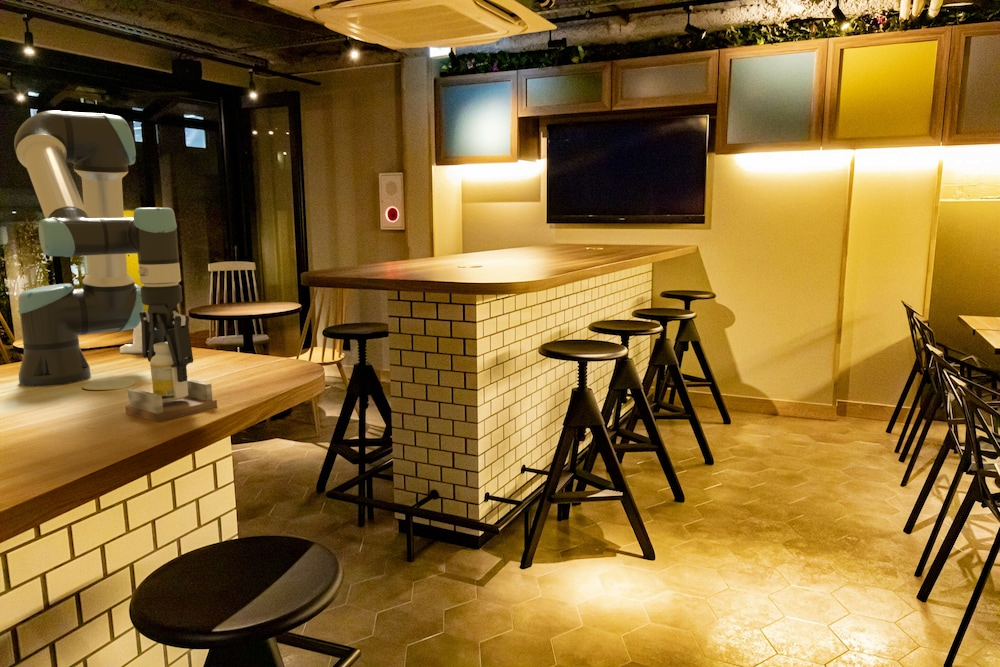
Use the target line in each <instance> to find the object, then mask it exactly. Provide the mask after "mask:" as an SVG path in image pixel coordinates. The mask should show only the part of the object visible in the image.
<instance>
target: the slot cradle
mask: <svg viewBox="0 0 1000 667" xmlns="http://www.w3.org/2000/svg"><path fill="white" fill-rule="evenodd" d="M187 386H188V396H186V397H184V398H182V399H179V400H174V401H162V395H158V394H154V393H153V392H150V391H144V390H139V389H136V388H131V389H127V394H128V404H129V405H126V406H125V407H124V408H125V413H126V414H128V415H132V416H136V417H139V418H142V417H143V418H142V419H147V420H151V421H154V422H157V421H158V423H162V422H166V421H170V420H173V419H176V418H180V417H185V416H189V415H191V414H196V413H198V412H199V413H200V412H203V411H207V410H210V409H213V408H217V407H218V400H217V399H214V398H213V389H212V388H213V387H212V383H211V382H205V381H200V380H195V379H190V378H187ZM161 421H162V422H161Z"/></svg>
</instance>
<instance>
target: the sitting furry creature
mask: <svg viewBox="0 0 1000 667" xmlns="http://www.w3.org/2000/svg"><path fill="white" fill-rule="evenodd" d="M132 330H133V331H132V336H131V337H132V343H128V344H124V345H122V346H120V347H119V352H120V353H121V354H143V353H142V327H141V322H140V323H139V325H138V326H137V327H136V328H134V329H132ZM148 352H149V351H148Z"/></svg>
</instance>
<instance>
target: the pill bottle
mask: <svg viewBox="0 0 1000 667" xmlns="http://www.w3.org/2000/svg"><path fill="white" fill-rule="evenodd" d="M153 346H154V352H156V355H155V356H153V357H152V358H151V360H150V362H149V365H150V375H151V382H152V383H151V385H152V393H154V394H158V395H162V401H174V400H179V399H182V398H184V397H186V396H184V397H180V398H174V390H173V379H172V368H171V365H173V364H174V363H173V359H172V356H171V353H170V349H169V346H168V342H167V341H164V342H160V343H156V344H154V345H153ZM178 360H179V359H178Z"/></svg>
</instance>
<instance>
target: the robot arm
mask: <svg viewBox="0 0 1000 667" xmlns="http://www.w3.org/2000/svg"><path fill="white" fill-rule="evenodd" d="M13 147H14V151H15V154H16V157H17V158H16V159H17V160H18V161H19V163H20V164H21V165H22V166H23V167H24V168H26V171H27V173H28V175H29V178H30V181H31V183H32V186H33V189H34V191H35V194H36V196H37V200H38V203H39V205H40V209H41V211H42V213H43V216H44V218H42V219H40V220H39V222H38V239H39V242H40V248H41V250H42V252H43V254H45V255H46V256H48V257H64V258H69V257H70V258H71V257H81V256H82V257H83V256H87V268H88V274H87V275H86V276H85V277H84V278H83V279H82V287H80V288H74V285H73V284H72V283H69V282H68V283H58V284H51V285H44V286H38V287H35V288H30V289H26V290H24V291H22V292H20V294H19V296H18V298H17V299H18V300H17V301H18V302H17V303H18V311H17V312H18V314H19V317H20V318H19V319H20V327H21V335H22V336H21V337H22V344H23V355H22V360H21V364H20V367H19V372H18V382H19V385H20V386H24V387H50V386H59V385H65V384H72V383H77V382H80V381H84V380H87V379H89V378H90V377H91V376H92V375H91V373H92V372H91V367H90V365H89V363H88V361H87V358H86V357H85V356H84V355H85V354H84V353H83V351H82V349H81V347H80V339H79V336H82V335H83V336H84V335H92V334H93V335H94V334H102V333H103V334H104V333H111V332H113V333H114V332H117V333H119V332H120V333H121V332H122V331H127V330H128V331H129V330H133V329H134V328H136V327H137V326H138V325H139V323H140V322H141V327H142V353H141V354H142V357H143V359H147V361H148V362H149V363H150V360H151V358H152V357H153V356H155V355H156V352H154V346H153V345H154V344H156V343H160V342H165V338H166V342H168V346H169V349H170V353H171V356H172V359H173V363H174V364H173V365H171V368H172V379H173V390H174V398H180V397H184V396H188V386H187V379H188V371H187V366H188V365H189V364H193V362H194V356H193V355H194V354H193V348H192V342H191V336H190V326H189V324H190V323H189V322H190V316H189V315H188V314H181V313H180V310H179V307H178V304H180V303H181V302H183V294H182V293H183V290H182V285H180V284H179V283H180V282H181V281H182V277H181V268H180V260H179V258H180V257H179V255H180V254H179V247H178V231H177V228H178V225H177V224H178V223H177V221H176V216H175V215H176V214H175V211H174V210H173V208H171V207H137V208H135V209H134V211H133V216H131V217H129V216H128V217H125V212H124V211H125V210H124V198H123V197H124V195H123V194H124V193H123V178H124V177H126V175H127V174H128V173H129V166H131V165H134V164H135V163H136V156H137V152H136V146H135V140H134V137H133V134H132V130H131V128H130V126H129V124H128V122H127V121H126V120H125V118H123V117H122V116H120V115H115V114H109V113H104V112H103V113H102V112H101V113H99V112H98V113H97V112H79V111H64V110H63V111H62V110H57V109H56V110H53V109H52V110H45V111H41V112H38V113H36V114H34V115H32V116H30V117H29V118H27V119H26V120H25V121H24V122H23V123H22V124H21V125H20V127H19V128H18V130H17V132H16V134H15V136H14V143H13ZM68 163H69V164H70V163H72V164H73V170H74V172H75V173H77V175H78V176H80V178H81V187H82V188H81V189H82V196H83V197H82V198H81V196H80V193H79V190H78V188H77V185H76V182H75V181H74V179H73V176H72V174H71V171H70V169H69V167H68ZM82 199H83V200H82ZM129 254H131V255H132V254H133V255H134V254H137V262H138V263H137V264H138V274H139V282H140V284H143V285H142V286H140V285H139V284H136V283H135V278H133V277H132V276H131V275H130V274H129V273H128V266H127V264H128V263H127V262H128V261H127V255H129ZM144 305H146V306H148V307H147V310H146V311H144ZM148 351H149V352H148ZM178 359H179V360H178Z"/></svg>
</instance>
